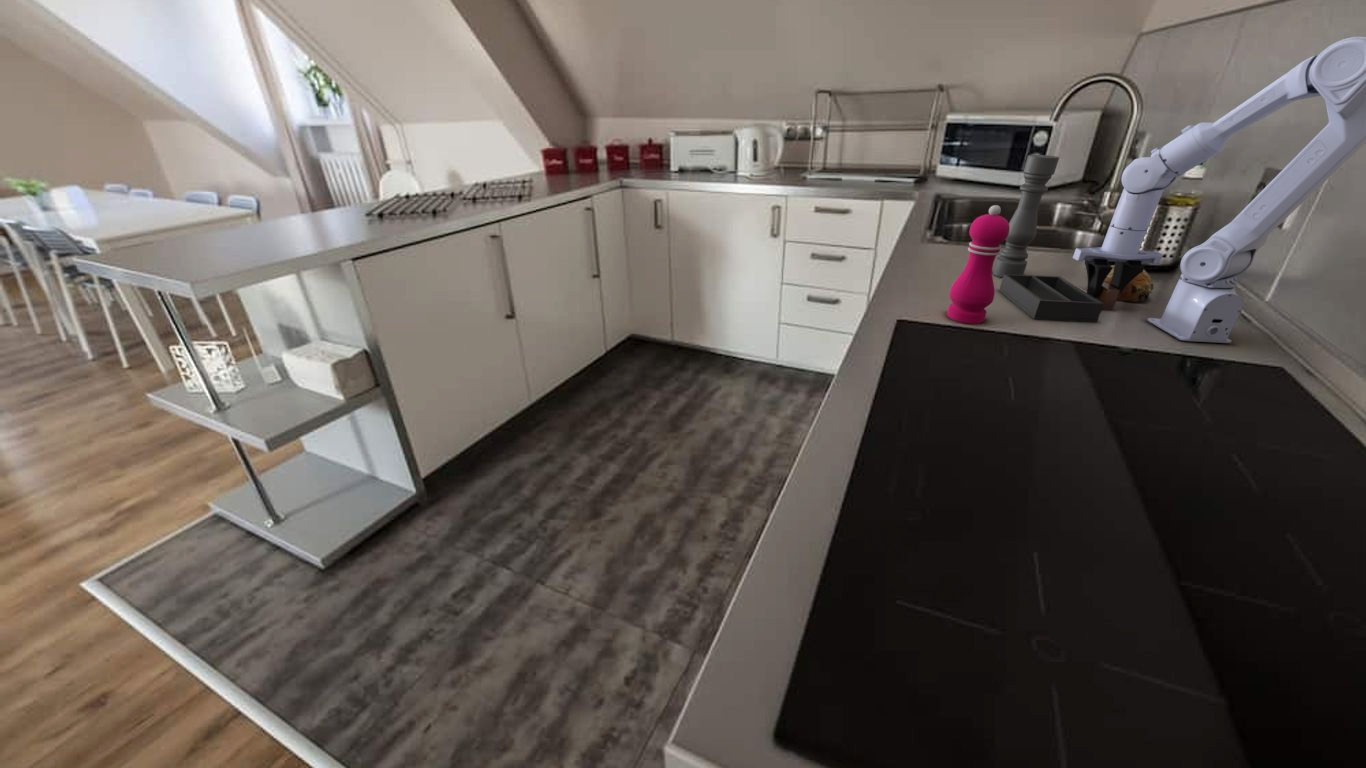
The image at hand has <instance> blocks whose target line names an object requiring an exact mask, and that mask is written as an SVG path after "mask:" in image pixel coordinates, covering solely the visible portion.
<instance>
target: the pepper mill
mask: <svg viewBox="0 0 1366 768" xmlns="http://www.w3.org/2000/svg"><path fill="white" fill-rule="evenodd" d="M1001 212H1002V209H1001V207H1000V205H998V204H994V205H991V206H990V207H989V208H988V214H987V213H986V214H982V215H980V216H978V217H976V218H975V219H974V220H973V222H972V223H971V225H970V228H969V232H968V233H969V237H970V238H971V241H970V242H969V243H968V245H969V246H968V247H967V251H968V252H969V254H968V259H967V262H966V264H965V266H964V268H963V270H962V272H961V273H959V275H958V277H957V278H956V279H955V280H954V281H953V283H952V285H951V288H950V290H949V299H950V300H951V302H952V303H951V304H949V306H948V309H947V312H946V316H947V317H948V318H949V319H951V320H953V321H955V322H958V323H961V324H969V325H975V324H977V325H978V324H982V323H983V322H984V321H985V318H986V315H987V310H986V308H987V307H988V306H990V305H991V304H992V303H993V301H994V299H995V294H996V293H995V292H996V291H995V283H994V278H993V268H994V264H995V261H996V258H997V256H998V255H999V254H1000V251H1001V250H1002V245H1001V244H1002V243H1003V242H1004V241H1006V240H1005V239H1006V238H1007V237H1008V234H1009V230H1010V226H1009V221H1008V220H1007V219H1006V218H1005V217H1003V216H1001V215H1000V214H1001Z"/></svg>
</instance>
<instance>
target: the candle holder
mask: <svg viewBox="0 0 1366 768" xmlns="http://www.w3.org/2000/svg"><path fill="white" fill-rule="evenodd" d="M1059 160H1060V156H1055V155H1046V154H1028V155H1027V157H1026V161H1025V164H1024V168H1023V171H1022V172H1023V173H1024V174H1023V178H1024V183H1023V184H1021V185H1020V186H1019V190H1020V191H1021V192H1020V193H1021V194H1020V198H1019V202H1018V204H1017V208H1016V209H1015V211H1014V213H1013V215H1012V216H1011V218H1010V220H1009V221H1008V223H1009V226H1010V230H1009V234H1008V237H1007V238H1006V239H1005V240H1004V241H1006V242H1005V246H1004V247H1003V248H1002V249H1000V254H998V255H999V256H996V258H995V262H994V265H993V268H992V275H994V276H996V277H999V278H1002V279H1003V276H1004V274H1014V275H1025V271H1026V269H1027V265H1028V261H1027V259H1028V258H1029V254H1028V251H1027V248H1028V247H1029V245H1030V244H1031V243H1032V242H1033V241H1034V240H1035V238H1036V236H1037V231H1038V230H1037V229H1038V215H1039V213H1038V211H1039V207H1040V204H1041V200H1042V197H1043V195H1044V194H1045V193H1047V192H1048V190H1049V188H1048V186H1047V185H1046V184H1048V182H1049V181H1050V180H1051V179H1052V177H1053V175H1054V174H1056V173H1055V172H1056V169H1057V165H1058V162H1059Z"/></svg>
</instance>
